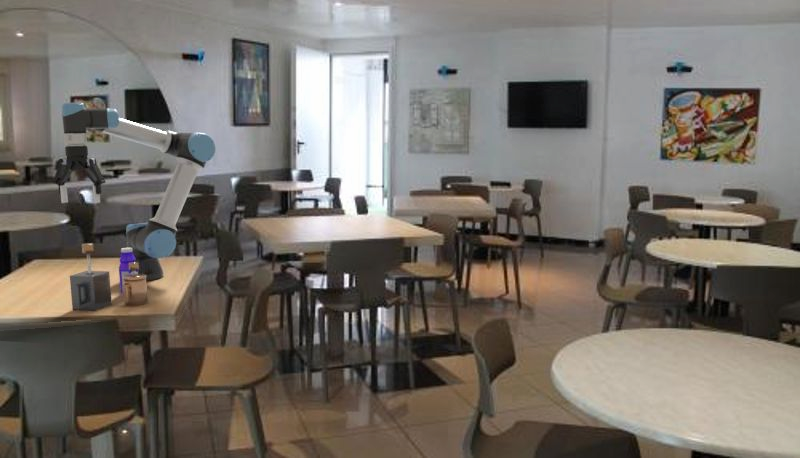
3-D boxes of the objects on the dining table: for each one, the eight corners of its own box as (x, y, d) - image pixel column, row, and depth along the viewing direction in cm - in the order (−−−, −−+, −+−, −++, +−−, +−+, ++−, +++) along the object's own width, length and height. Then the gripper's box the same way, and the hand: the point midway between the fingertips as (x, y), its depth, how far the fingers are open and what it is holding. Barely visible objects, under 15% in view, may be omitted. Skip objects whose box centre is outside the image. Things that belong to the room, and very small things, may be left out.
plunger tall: (89, 295, 250) (85, 242, 248) (106, 295, 249) (102, 242, 246) (76, 299, 244) (72, 245, 241) (94, 300, 242) (89, 245, 240)
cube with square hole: (89, 303, 252) (86, 270, 250) (111, 304, 250) (109, 271, 248) (66, 312, 240) (63, 277, 239) (89, 313, 239) (87, 278, 237)
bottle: (131, 296, 263) (128, 250, 260) (117, 295, 264) (114, 249, 261) (142, 291, 270) (139, 246, 267) (128, 291, 271) (125, 246, 268)
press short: (132, 299, 257) (130, 260, 255) (152, 300, 255) (149, 261, 253) (115, 307, 246) (112, 266, 244) (135, 308, 245) (132, 266, 243)
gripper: (39, 146, 258) (44, 203, 261) (99, 145, 253) (104, 204, 256) (53, 145, 266) (58, 201, 269) (112, 144, 260) (116, 201, 263)
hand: (80, 202), depth 262 cm, fingers open, 13 cm apart
